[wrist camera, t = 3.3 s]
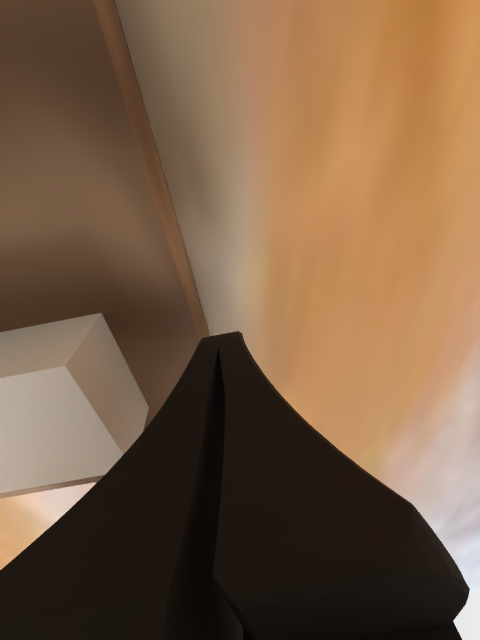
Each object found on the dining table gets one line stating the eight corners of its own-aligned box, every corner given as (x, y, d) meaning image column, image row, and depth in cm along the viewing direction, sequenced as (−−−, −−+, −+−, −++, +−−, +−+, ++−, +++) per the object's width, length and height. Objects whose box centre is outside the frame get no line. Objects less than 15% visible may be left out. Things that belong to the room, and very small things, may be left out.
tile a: (149, 407, 12) (133, 469, 9) (41, 427, 12) (0, 493, 9) (101, 312, 9) (65, 366, 7) (-33, 338, 9) (-111, 398, 7)
